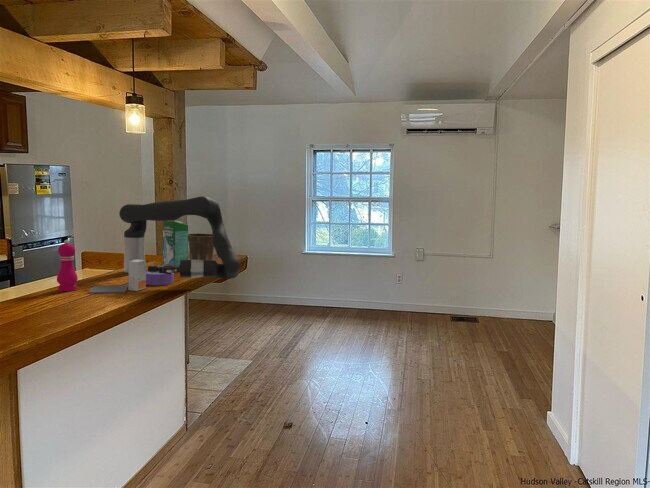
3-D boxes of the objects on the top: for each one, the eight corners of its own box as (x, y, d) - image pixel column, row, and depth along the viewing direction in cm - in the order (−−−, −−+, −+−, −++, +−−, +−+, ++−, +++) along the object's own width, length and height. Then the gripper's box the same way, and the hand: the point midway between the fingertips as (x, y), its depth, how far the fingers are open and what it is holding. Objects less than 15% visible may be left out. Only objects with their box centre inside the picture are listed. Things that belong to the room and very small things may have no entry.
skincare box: (137, 291, 188) (137, 261, 187) (128, 290, 189) (128, 261, 188) (146, 288, 194) (146, 259, 193) (137, 287, 195) (137, 259, 194)
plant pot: (222, 262, 270) (222, 235, 268) (201, 266, 256) (201, 236, 255) (202, 259, 279) (202, 232, 277) (180, 262, 265) (180, 234, 263)
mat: (94, 287, 193) (94, 285, 192) (128, 286, 196) (128, 285, 196) (88, 293, 181) (88, 291, 181) (125, 292, 185) (125, 291, 185)
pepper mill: (82, 289, 188) (81, 239, 186) (66, 292, 181) (65, 241, 179) (68, 287, 190) (67, 238, 188) (52, 290, 183) (51, 239, 181)
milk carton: (188, 267, 249) (188, 220, 246) (174, 269, 241) (174, 221, 238) (176, 265, 253) (176, 219, 251) (162, 267, 246) (162, 220, 243)
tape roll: (142, 285, 201) (142, 273, 200) (148, 280, 212) (148, 269, 212) (171, 285, 203) (171, 274, 202) (175, 280, 214) (175, 269, 214)
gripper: (191, 257, 203) (149, 257, 198) (192, 262, 190) (146, 262, 185) (191, 274, 204) (149, 275, 199) (192, 280, 191) (146, 280, 186)
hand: (148, 268), depth 192 cm, fingers closed
